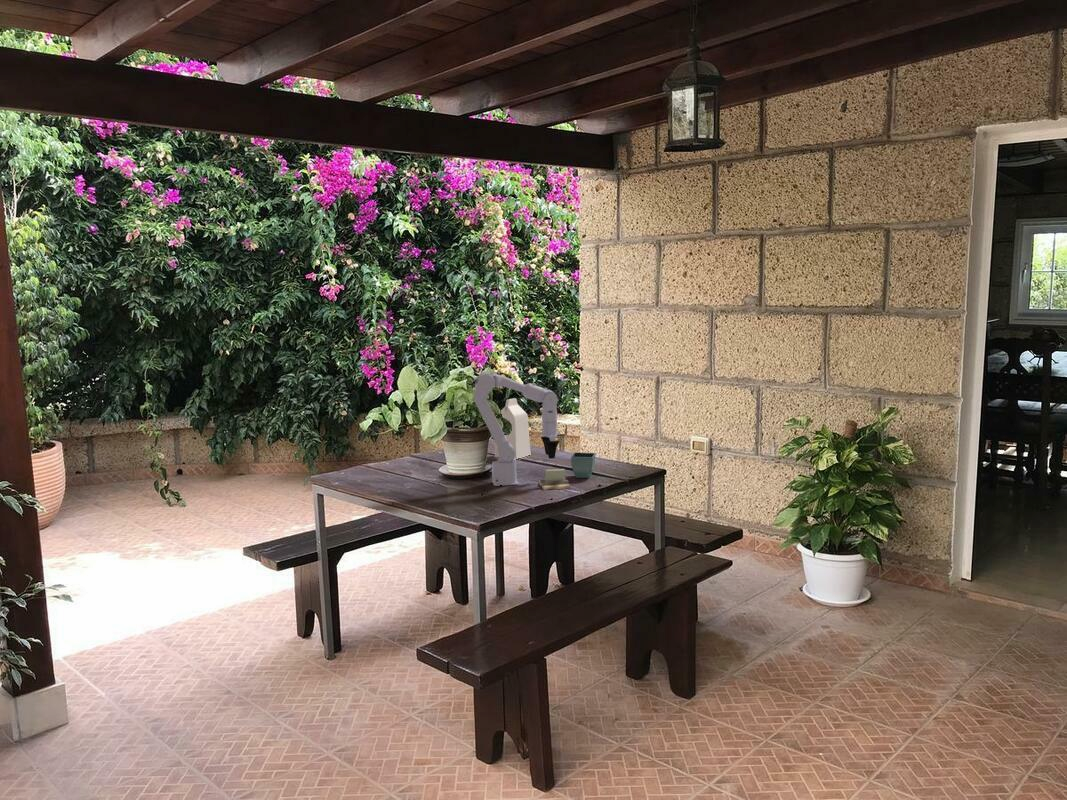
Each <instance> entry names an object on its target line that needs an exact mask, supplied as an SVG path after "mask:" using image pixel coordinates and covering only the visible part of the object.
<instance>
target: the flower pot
mask: <svg viewBox="0 0 1067 800" xmlns="http://www.w3.org/2000/svg"><path fill="white" fill-rule="evenodd" d="M570 460H571V461H570V462H571V468H572V472H573V474H574V476H575V478H577V479H590V478H591V476H592V473H593V471H594V468H595V463H596V453H595V452H573V453H572V455H571V456H570Z"/></svg>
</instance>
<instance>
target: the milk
mask: <svg viewBox="0 0 1067 800" xmlns="http://www.w3.org/2000/svg"><path fill="white" fill-rule="evenodd" d="M500 411H501V414H502V417H503V418H505V419H507V420H509V421H510V423H511V424H512V431H511V433H510V434H509V435H505V437H506V439H507V441H508V442H510V443H511V444H512V445H513V448H514V449H515V452H516V455H515V459H518V458H522V457H525V456H528V455H531V456H532V454H531V441H530V440H531V439H530V428H529V426H530V425H529V417H528V416H529V415H528V414H527V412H526V411H525V410H524V409H523V408H522V407H521V406H520V405H519V404H518V400H517V398H516V397H513V398H509V399H506V401H505V406H504V407H503V408H502V409H501V410H500ZM495 457H500V456H499V453H498V447H497V445H496V443H495V442H494V458H495ZM528 457H529V456H528ZM525 458H526V457H525ZM522 459H523V458H522Z"/></svg>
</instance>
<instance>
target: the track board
mask: <svg viewBox="0 0 1067 800" xmlns="http://www.w3.org/2000/svg"><path fill="white" fill-rule="evenodd" d="M538 484H539V486H540V487H541V486H542V489H543V491H544V490H545V491H547V490H549V489H551V490H566V489H571V485H570V484H569V480H568V479H567V477H565V480H563V481H546V478H540V479H539V480H538Z"/></svg>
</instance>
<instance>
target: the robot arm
mask: <svg viewBox="0 0 1067 800" xmlns="http://www.w3.org/2000/svg"><path fill="white" fill-rule="evenodd" d="M501 387H504V388H508V389H511V390H513V391H517V392H519V393H522V395H523V397H524V398H526V399H529V400H532V401H535V402H536V403H542V410H541V420H542V422H541V423H542V424H541V425H542V426H541V427H542V433H541V437H540V438H541V441H542V443H543V447H544V451H545V456H546V455H547V457H548V459H555V458H556V453H557V448H558V446H559V444H560V441H559V440H558V439H557V440H556V438H557V436H560V435H561V432H558V410H557V408H558V406H557V404H558V402H559V398H558V395H557V394H556V393H555V392H554V391H552V390H551V389H548V388H547V387H541V386H538V385H537V384H536V383H535V382H529V383H528V382H527V383H526V384H524V383H521V382H518V381H516V380H514V379H512V378H509V377H506V376H504V375H501V374H497V373H494V372H493V373H491V372H490V371H482V372H480V373H479V374H478V376H477V378H476V380H475V384H474V391H473V392H474V393H473V401H474V403H475V405H476V407H477V409H478V411H479V413H480V415H481V418H482V419H483V421H484V422H485V425H486V427H487V429H488V430H489V433H490V435H491V436H492V439H493V441H494V444H495V443H496V445H497V447H498V453H499V456H500V457H499V458H496V459H497V460H496V461H495V460H494V461H492V462H491V482H492V484H493V486H494V487H499V486H500V485H502V486H517V485H519V484H520V483H519V481H518V480H517V460H516V459H515V455H516V452H515V449H514V448H513V445H512V444H511V443H510V442H508V441H507V439H506V437H505V435H504V433H503V431H502V429H501V427H500V425H499V423H498V421H497V419H496V415H495V414H494V412H493V409H492V408H491V406H490V404H489V402H488V396H489V395H490V392H491V391H492V389H494V388H501Z"/></svg>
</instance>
